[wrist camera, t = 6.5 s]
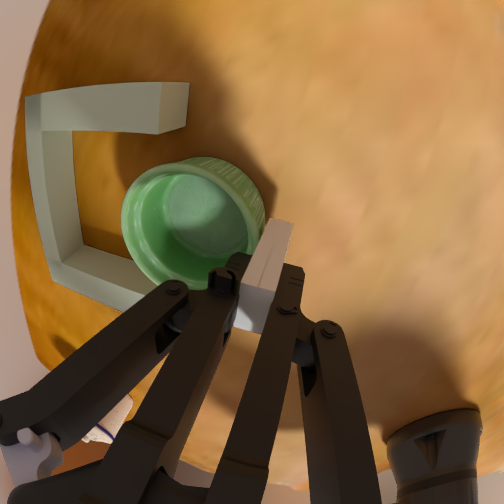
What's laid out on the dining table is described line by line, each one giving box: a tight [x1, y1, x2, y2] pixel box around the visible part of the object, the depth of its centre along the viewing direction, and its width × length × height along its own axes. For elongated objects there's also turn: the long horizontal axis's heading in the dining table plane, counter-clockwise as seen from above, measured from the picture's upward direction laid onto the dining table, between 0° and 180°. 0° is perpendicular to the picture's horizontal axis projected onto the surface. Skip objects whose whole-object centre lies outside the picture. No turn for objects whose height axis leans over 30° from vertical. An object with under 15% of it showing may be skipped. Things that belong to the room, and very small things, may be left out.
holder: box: [25, 82, 190, 312], centre depth 20 cm, size 14×18×4 cm
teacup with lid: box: [81, 394, 133, 443], centre depth 38 cm, size 12×9×12 cm
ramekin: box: [121, 157, 265, 290], centre depth 18 cm, size 9×9×4 cm
